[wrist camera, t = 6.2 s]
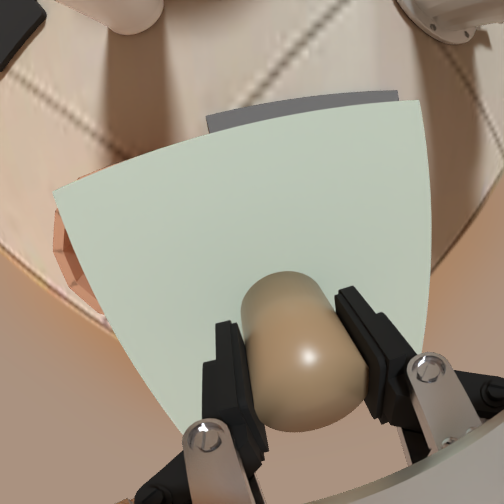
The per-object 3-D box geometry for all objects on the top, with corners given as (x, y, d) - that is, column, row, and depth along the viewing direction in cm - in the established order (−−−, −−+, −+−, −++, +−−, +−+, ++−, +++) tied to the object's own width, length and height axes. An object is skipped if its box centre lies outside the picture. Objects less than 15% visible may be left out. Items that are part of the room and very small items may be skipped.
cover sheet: (408, 100, 10) (511, 99, 5) (413, 359, 16) (458, 423, 11) (61, 187, 10) (-31, 234, 5) (183, 424, 16) (180, 504, 11)
